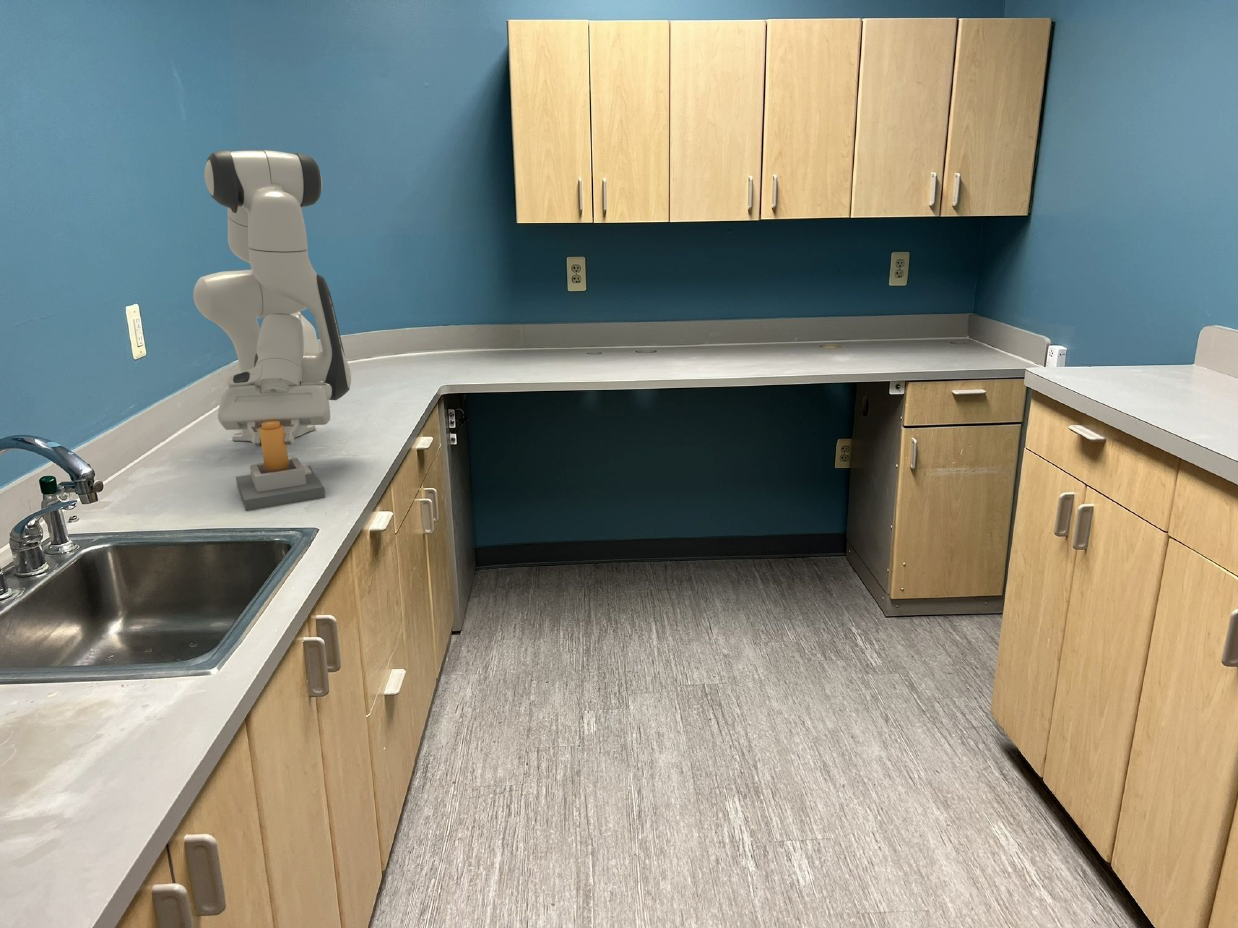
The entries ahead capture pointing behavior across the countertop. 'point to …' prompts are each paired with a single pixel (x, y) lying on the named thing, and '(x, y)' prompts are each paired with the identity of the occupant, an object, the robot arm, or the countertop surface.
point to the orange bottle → (273, 446)
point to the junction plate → (279, 485)
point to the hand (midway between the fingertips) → (272, 444)
